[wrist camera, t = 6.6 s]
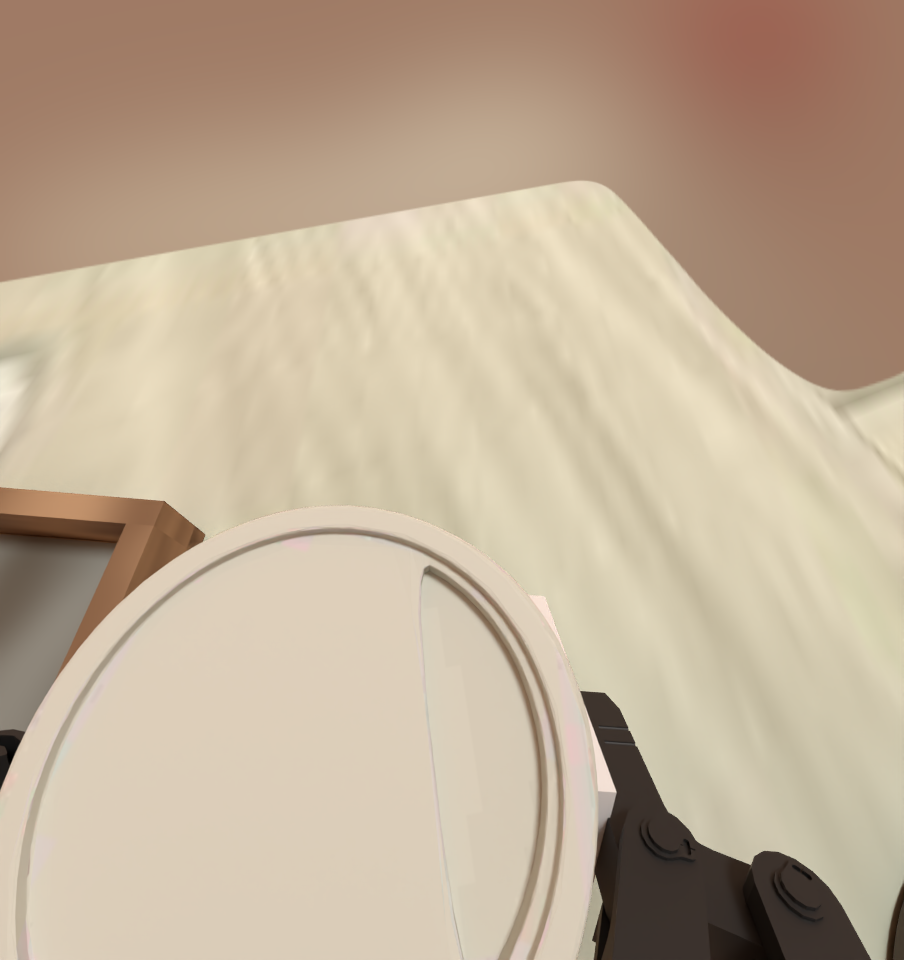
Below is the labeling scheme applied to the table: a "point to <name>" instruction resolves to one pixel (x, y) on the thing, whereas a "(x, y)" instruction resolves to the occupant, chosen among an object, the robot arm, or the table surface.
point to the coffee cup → (307, 761)
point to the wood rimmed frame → (70, 579)
